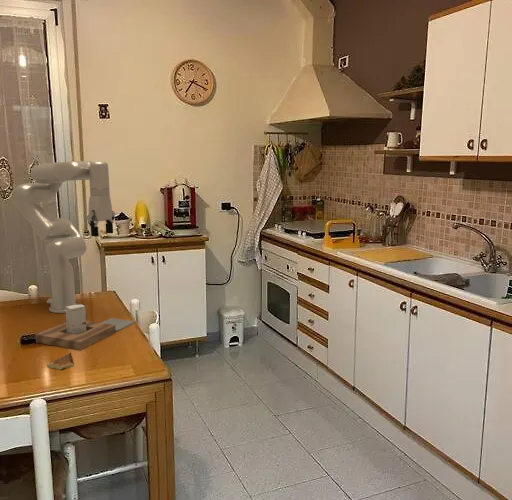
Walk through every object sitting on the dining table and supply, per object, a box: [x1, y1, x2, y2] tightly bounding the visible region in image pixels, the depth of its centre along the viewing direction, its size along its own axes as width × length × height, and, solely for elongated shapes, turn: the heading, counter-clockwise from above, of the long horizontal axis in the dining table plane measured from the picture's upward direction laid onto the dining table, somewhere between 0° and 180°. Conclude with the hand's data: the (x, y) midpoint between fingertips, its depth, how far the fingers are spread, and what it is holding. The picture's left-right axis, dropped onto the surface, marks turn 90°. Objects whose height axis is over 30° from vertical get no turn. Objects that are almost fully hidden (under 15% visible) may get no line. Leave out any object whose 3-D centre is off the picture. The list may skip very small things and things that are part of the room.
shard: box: [46, 352, 75, 371], centre depth 171 cm, size 11×8×2 cm
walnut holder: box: [35, 320, 117, 351], centre depth 194 cm, size 20×20×3 cm
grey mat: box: [100, 317, 136, 333], centre depth 209 cm, size 12×12×1 cm
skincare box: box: [65, 303, 87, 335], centre depth 193 cm, size 6×4×12 cm
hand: (102, 234), depth 212 cm, fingers open, 9 cm apart
